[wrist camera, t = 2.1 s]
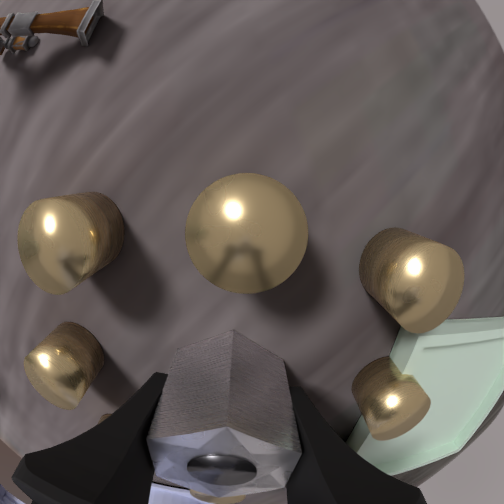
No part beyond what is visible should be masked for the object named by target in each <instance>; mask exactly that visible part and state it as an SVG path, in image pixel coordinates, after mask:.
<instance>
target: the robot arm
mask: <svg viewBox="0 0 504 504" xmlns="http://www.w3.org/2000/svg"><path fill="white" fill-rule="evenodd" d="M167 377H168V374H164V373H159V372H155V373H154V374H153V375H152V376H151V377H150V378H149V379H148V381H147V382H146V383H145V384H144V385H143V386H142V387H141V388H140V389H139V390H138V391H137V392H136V393H135V394H134V395H133V396H132V397H131V398H130V399H129V400H128V401H127V402H126V403H125V404H123V405H122V406H121V407H120V408H119V409H117V410H116V411H115V412H114V413H113V414H111V415H110V416H109V417H108V418H106V419H105V420H103V421H102V422H101V423H99V424H98V425H96V426H95V427H93V428H91V429H90V430H88V431H86V432H84V433H83V434H81V435H79V436H77V437H75V438H73V439H71V440H69V441H66V442H64V443H61V444H59V445H56V446H54V447H51V448H48V449H44V450H41V451H37V452H33V453H29V454H25V456H24V457H23V458H22V460H21V461H20V463H19V465H18V467H17V468H16V470H15V472H14V474H13V476H12V480H13V482H14V483H15V484H16V485H17V486H18V487H19V488H20V489H21V490H22V491H23V492H24V493H25V494H26V495H27V496H29V497H30V498H31V499H32V500H33V501H32V503H31V504H214V503H208V502H204V501H201V500H198V499H196V498H194V497H193V496H192V495H191V494H190V490H186V489H180V488H174V487H169V486H164V485H159V484H155V483H152V480H153V475H154V471H155V469H154V466H153V462H152V459H151V455H150V452H149V448H148V444H147V440H146V438H147V435H148V432H149V429H150V426H151V423H152V420H153V417H154V414H155V411H156V408H157V405H158V402H159V400H160V397H161V394H162V391H163V388H164V385H165V382H166V380H167ZM289 390H290V395H291V400H292V405H293V410H294V415H295V420H296V426H297V431H298V436H299V441H300V446H301V451H302V454H301V456H300V458H299V460H298V462H297V464H296V466H295V468H294V470H293V472H292V474H291V476H290V477H289V479H288V481H287V483H286V486H287V501H288V504H427V503H426V501H425V498H424V496H423V494H422V492H421V490H420V489H419V488H417V487H414V486H412V485H409V484H407V483H405V482H402V481H400V480H398V479H396V478H394V477H392V476H390V475H388V474H386V473H384V472H383V471H381V470H380V469H378V468H376V467H375V466H374V465H372V464H371V463H369V462H368V461H366V460H365V459H363V458H362V457H361V456H360V455H358V454H357V453H356V452H355V451H354V450H353V449H351V448H350V447H349V446H348V445H347V444H346V443H345V442H344V441H343V440H342V439H341V438H340V437H339V436H338V435H337V434H336V433H335V431H334V430H333V429H332V428H331V427H330V426H329V425H328V423H327V422H326V421H325V420H324V418H323V417H322V416H321V415H320V413H319V412H318V411H317V409H316V408H315V406H314V405H313V404H312V402H311V401H310V399H309V398H308V396H307V395H306V393H305V392H304V390H303V389H302V388H301V387H289ZM0 504H25V503H24V502H22V501H21V500H19V499H18V498H16V497H15V496H14V495H12V494H11V493H9V492H8V491H7V490H6V489H5V488H4V487H3V486H2V485H1V484H0Z"/></svg>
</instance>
